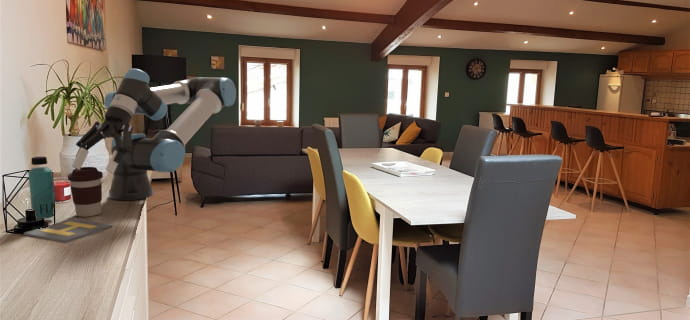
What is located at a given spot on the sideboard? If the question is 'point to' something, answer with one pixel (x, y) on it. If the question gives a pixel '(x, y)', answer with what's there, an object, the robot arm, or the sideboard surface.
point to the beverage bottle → (41, 188)
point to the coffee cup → (86, 191)
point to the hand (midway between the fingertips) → (92, 169)
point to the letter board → (68, 230)
